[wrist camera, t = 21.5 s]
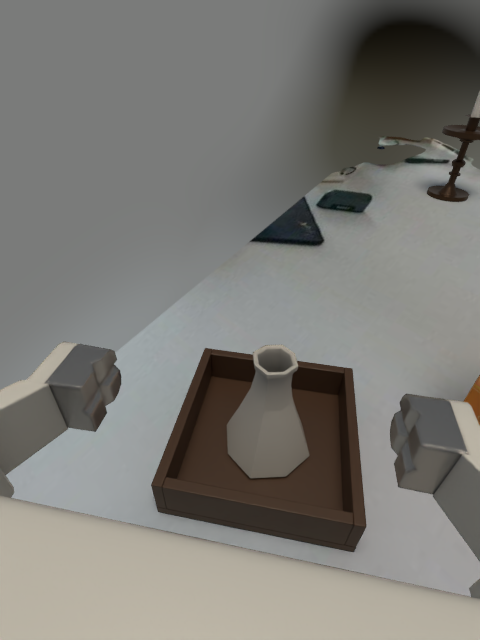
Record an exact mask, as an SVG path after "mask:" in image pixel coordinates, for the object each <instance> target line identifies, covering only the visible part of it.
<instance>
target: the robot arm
mask: <svg viewBox="0 0 480 640" xmlns="http://www.w3.org/2000/svg"><path fill="white" fill-rule="evenodd" d="M116 360H117V358H116V355H115V351H113V350H110V349H105V348H99V347H93V346H88V345H82V344H75V343H69V342H62V343H60V344H58V345H57V346H56V348H55V349H54V350H53V351H52V352H51V353H50V354H49V356H48V357H47V358H46V359H45V360H44V361H43V362H42V363H41V364H40V366H39V367H38V368H37V369H36V370H35V371H34V373H32V374H31V376H30V377H29V378H28V379H27V380H26V381H25V380H20V381H18V382H16V383H14V384H12V385H9V386H8V387H5V388H3V389H1V390H0V640H480V579H479V580H478V581H476V582H475V583H474V584H473V585H472V586H471V587H470V588H469V590H470V593H471V597H469V596H465V595H460V594H455V593H451V592H446V591H441V590H437V589H432V588H427V587H423V586H418V585H414V584H409V583H404V582H400V581H395V580H390V579H386V578H381V577H376V576H372V575H367V574H362V573H358V572H353V571H349V570H344V569H339V568H335V567H330V566H325V565H321V564H316V563H311V562H307V561H302V560H297V559H293V558H288V557H284V556H279V555H274V554H270V553H265V552H260V551H256V550H251V549H246V548H242V547H237V546H232V545H228V544H223V543H219V542H214V541H209V540H205V539H200V538H195V537H191V536H186V535H181V534H177V533H172V532H167V531H163V530H158V529H154V528H149V527H144V526H140V525H135V524H130V523H126V522H121V521H116V520H112V519H107V518H102V517H98V516H93V515H88V514H84V513H79V512H74V511H70V510H65V509H60V508H56V507H51V506H46V505H42V504H37V503H33V502H28V501H23V500H19V499H14V498H11V497H12V495H13V494H14V487H13V486H12V484H11V483H10V481H9V480H8V478H7V477H6V476H5V475H6V474H8V473H9V472H10V471H12V470H13V469H14V468H16V467H17V466H18V465H20V464H21V463H23V462H24V461H25V460H27V459H28V458H29V457H31V456H32V455H33V454H35V453H36V452H38V451H39V450H40V449H42V448H43V447H44V446H46V445H47V444H48V443H50V442H51V441H52V440H54V439H55V438H57V437H58V436H59V435H61V434H62V433H63V432H65V431H66V430H67V429H68V428H74V429H80V430H87V431H94V432H96V430H97V429H98V427H99V425H100V424H101V422H102V420H103V419H104V417H105V415H106V414H107V412H106V407H105V406H106V405H108V404H110V403H111V402H113V401H114V400H115V398H116V396H117V395H118V393H119V389H120V385H121V374H120V370H119V369H118V368H117V367H116V366H115V365H114V363H115V362H116ZM400 407H401V411H399V412H397V413H395V414H394V417H393V419H392V422H391V428H390V441H391V448H392V449H393V450H394V452H395V453H396V454H397V455H398V457H397V459H396V461H395V463H394V466H395V471H396V477H397V482H398V487H400V488H404V489H409V490H414V491H419V492H424V493H428V494H433V497H434V499H435V500H436V501H437V503H438V504H439V506H440V507H441V508H442V510H443V511H444V512H445V514H446V515H447V517H448V518H449V519H450V521H451V522H452V524H453V525H454V526H455V528H456V529H457V531H458V532H459V533H460V535H461V536H462V538H463V539H464V540H465V542H466V543H467V544H468V546H469V547H470V549H471V550H472V551H473V553H474V554H475V556H476V557H477V558H478V560H479V561H480V425H479V423H478V421H477V418H476V416H475V413H474V411H473V409H472V406H471V405H470V404H469V403H468V402H461V401H454V400H445V399H440V398H433V397H426V396H419V395H412V394H405V395H404V396H403V397H402V399H401V401H400Z"/></svg>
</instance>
